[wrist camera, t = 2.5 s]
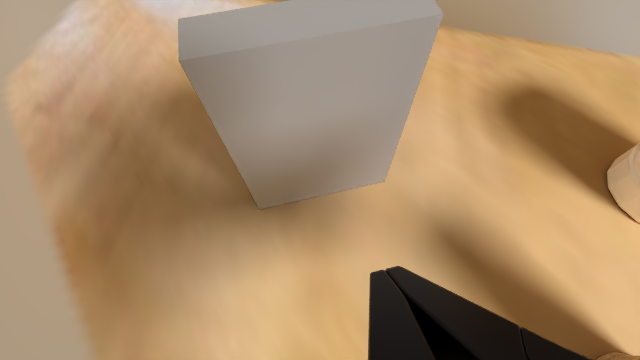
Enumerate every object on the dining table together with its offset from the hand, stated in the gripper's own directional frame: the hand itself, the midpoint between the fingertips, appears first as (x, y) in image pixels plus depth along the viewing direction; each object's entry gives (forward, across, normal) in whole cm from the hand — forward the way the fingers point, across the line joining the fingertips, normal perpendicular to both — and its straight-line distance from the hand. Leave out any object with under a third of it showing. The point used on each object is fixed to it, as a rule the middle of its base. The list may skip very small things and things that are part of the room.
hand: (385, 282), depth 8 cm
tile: (+16, 0, +2) cm, 16 cm away
